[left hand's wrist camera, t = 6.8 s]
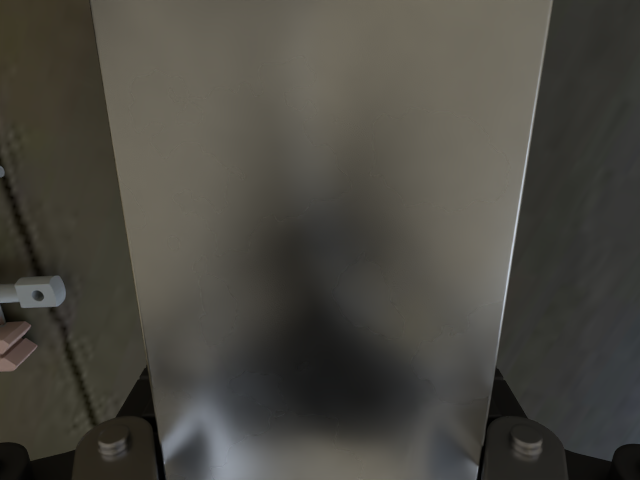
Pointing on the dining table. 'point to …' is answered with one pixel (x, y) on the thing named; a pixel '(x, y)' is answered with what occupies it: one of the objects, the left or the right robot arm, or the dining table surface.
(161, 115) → the bar
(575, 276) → the dining table surface
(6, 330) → the clamp
